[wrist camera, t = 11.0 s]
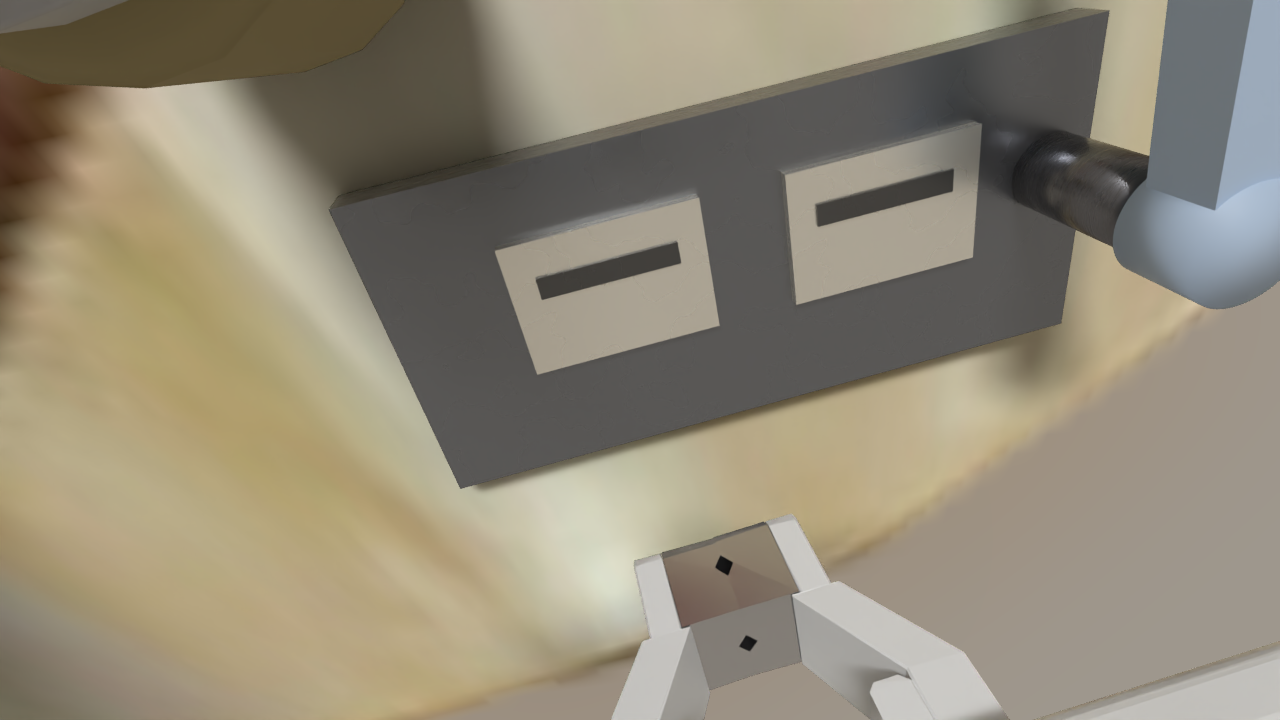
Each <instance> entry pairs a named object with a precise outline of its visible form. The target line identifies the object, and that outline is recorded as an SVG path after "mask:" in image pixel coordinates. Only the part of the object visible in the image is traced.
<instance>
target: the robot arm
mask: <svg viewBox="0 0 1280 720" xmlns="http://www.w3.org/2000/svg"><path fill="white" fill-rule="evenodd" d="M661 554H662V556H661ZM662 558H663V559H662ZM664 565H665V566H664ZM634 570H635V574H636V578H637V583H638V587H639V592H640V596H641V601H642V605H643V610H644V614H645V619H646V623H647V627H648V632H649V636H650V639H647V640H644V641H642V643H641V645H640V648H639V650H638V653H637V655H636V658H635V660H634V663H633V665H632V668H631V670H630V673H629V675H628V678H627V680H626V683H625V685H624V688H623V690H622V693H621V695H620V698H619V700H618V703H617V705H616V708H615V711H614V713H613V715H612V718H611V720H704V718H705V713H706V709H707V705H708V701H709V696H710V691H709V690H712V689H715V688H718V687H721V686H724V685H726V684H729V683H732V682H735V681H738V680H741V679H744V678H747V677H750V676H753V675H755V674H760V673H763V672H767V671H770V670H774V669H777V668H781V667H784V666H788V665H792V664H795V663H798V662H802V664H803V665H804V666H806V667H807V668H808V669H809V670H811V671H812V672H813V673H814V674H815V675H817V676H818V677H819V678H820V679H821V680H823V681H824V682H825V683H826V684H828V685H829V686H830V687H831V688H832V689H834V690H835V691H836V692H837V693H839V694H840V695H841V696H842V697H844V698H845V699H846V700H847V701H849V702H850V703H851V704H852V705H853V706H855V707H856V708H857V709H858V710H860V711H861V712H862V713H863V714H864V715H866V716H867V717H868V718H869V719H871V720H1010V719H1009V718H1008V716H1007V715H1006V713H1005V712H1004V711H1003V709H1002V707H1001V706H1000V704H999V703H998V702H997V700H996V699H995V697H994V696H993V694H992V693H991V691H990V690H989V688H988V687H987V685H986V684H985V682H984V681H983V679H982V678H981V676H980V675H979V674H978V672H977V671H976V669H975V668H974V666H973V665H972V663H971V662H970V660H969V659H968V657H967V656H966V654H965V653H964V652H963V651H961V650H959V649H958V648H956V647H954V646H952V645H951V644H949V643H947V642H945V641H944V640H942V639H940V638H938V637H937V636H935V635H933V634H932V633H930V632H928V631H926V630H925V629H923V628H921V627H919V626H918V625H916V624H914V623H912V622H911V621H909V620H907V619H905V618H904V617H902V616H900V615H898V614H897V613H895V612H893V611H891V610H890V609H888V608H886V607H884V606H883V605H881V604H879V603H877V602H876V601H874V600H872V599H870V598H869V597H867V596H865V595H864V594H861V593H860V592H858V591H857V590H854V589H853V588H851V587H850V586H848V585H846V584H844V583H843V582H840V581H836V582H832V583H831V581H830V580H829V578H828V576H827V574H826V572H825V570H824V569H823V567H822V565H821V563H820V561H819V559H818V558H817V556H816V554H815V552H814V550H813V548H812V546H811V545H810V543H809V541H808V539H807V537H806V535H805V534H804V532H803V530H802V528H801V526H800V524H799V523H798V521H797V519H796V517H795V516H794V515H792V514H788V515H785V516H782V517H779V518H775V519H772V520H769V521H766V522H765V523H764V522H761V523H758V524H755V525H752V526H749V527H745V528H742V529H739V530H736V531H733V532H730V533H726V534H723V535H720V536H717V537H714V538H713V539H710V540H706V541H702V542H699V543H695V544H691V545H688V546H684V547H681V548H677V549H673V550H670V551H666V552H662V553H660V554H656V555H653V556H649V557H646V558H642V559H639V560H635V561H634ZM1035 720H1280V641H1278V642H1275V643H1272V644H1269V645H1266V646H1262V647H1259V648H1256V649H1253V650H1250V651H1247V652H1244V653H1241V654H1238V655H1235V656H1232V657H1228V658H1225V659H1222V660H1219V661H1216V662H1212V663H1209V664H1206V665H1203V666H1200V667H1197V668H1194V669H1191V670H1188V671H1184V672H1182V673H1178V674H1175V675H1172V676H1169V677H1166V678H1162V679H1159V680H1156V681H1153V682H1150V683H1147V684H1144V685H1141V686H1137V687H1134V688H1132V689H1128V690H1125V691H1122V692H1119V693H1116V694H1112V695H1109V696H1106V697H1103V698H1100V699H1097V700H1094V701H1091V702H1088V703H1084V704H1081V705H1078V706H1075V707H1072V708H1069V709H1066V710H1063V711H1059V712H1056V713H1053V714H1050V715H1047V716H1044V717H1041V718H1038V719H1035Z"/></svg>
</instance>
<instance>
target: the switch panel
mask: <svg viewBox="0 0 1280 720" xmlns="http://www.w3.org/2000/svg"><path fill="white" fill-rule="evenodd" d="M1108 16H1109V11H1108V10H1095V9H1082V8H1075V9H1071V10H1067V11H1063V12H1059V13H1055V14H1051V15H1047V16H1043V17H1039V18H1035V19H1031V20H1027V21H1023V22H1019V23H1016V24H1012V25H1008V26H1004V27H1000V28H996V29H992V30H988V31H984V32H980V33H976V34H972V35H968V36H964V37H961V38H957V39H953V40H949V41H945V42H941V43H937V44H933V45H929V46H925V47H921V48H917V49H913V50H909V51H906V52H902V53H898V54H894V55H890V56H886V57H882V58H878V59H874V60H870V61H866V62H862V63H858V64H854V65H851V66H847V67H843V68H839V69H835V70H831V71H827V72H823V73H819V74H815V75H811V76H807V77H803V78H799V79H795V80H792V81H788V82H784V83H780V84H776V85H772V86H768V87H764V88H760V89H756V90H752V91H748V92H744V93H740V94H737V95H733V96H729V97H725V98H721V99H717V100H713V101H709V102H705V103H701V104H697V105H693V106H689V107H685V108H682V109H678V110H674V111H670V112H666V113H662V114H658V115H654V116H650V117H646V118H642V119H638V120H634V121H630V122H627V123H623V124H619V125H615V126H611V127H607V128H603V129H599V130H595V131H591V132H587V133H583V134H579V135H575V136H571V137H568V138H564V139H560V140H556V141H552V142H548V143H544V144H540V145H536V146H532V147H528V148H524V149H520V150H516V151H513V152H509V153H505V154H501V155H497V156H493V157H489V158H485V159H481V160H477V161H473V162H469V163H465V164H461V165H458V166H454V167H450V168H446V169H442V170H438V171H434V172H430V173H426V174H422V175H418V176H414V177H410V178H406V179H403V180H399V181H395V182H391V183H387V184H383V185H379V186H375V187H371V188H367V189H363V190H359V191H355V192H351V193H347V194H344V195H340V196H338V198H337V199H336V200H335V202H334V203H333V205H332V206H331V207H330V209H329V211H330V214H331V216H332V218H333V220H334V222H335V224H336V226H337V228H338V231H339V233H340V235H341V237H342V239H343V241H344V243H345V245H346V247H347V250H348V252H349V254H350V256H351V258H352V260H353V262H354V264H355V267H356V269H357V271H358V273H359V275H360V277H361V279H362V281H363V284H364V286H365V288H366V290H367V292H368V294H369V296H370V298H371V300H372V303H373V305H374V307H375V309H376V311H377V313H378V315H379V317H380V320H381V322H382V324H383V326H384V328H385V330H386V332H387V334H388V336H389V339H390V341H391V343H392V345H393V347H394V349H395V351H396V353H397V356H398V358H399V360H400V362H401V364H402V366H403V368H404V370H405V373H406V375H407V377H408V379H409V381H410V383H411V385H412V387H413V389H414V392H415V394H416V396H417V398H418V400H419V402H420V404H421V406H422V409H423V411H424V413H425V415H426V417H427V419H428V421H429V423H430V425H431V428H432V430H433V432H434V434H435V436H436V438H437V440H438V442H439V445H440V447H441V449H442V451H443V453H444V455H445V457H446V459H447V462H448V464H449V466H450V468H451V470H452V472H453V474H454V476H455V478H456V481H457V483H458V485H459V487H460V489H461V488H465V487H469V486H472V485H476V484H479V483H483V482H487V481H490V480H494V479H498V478H501V477H505V476H508V475H512V474H516V473H519V472H523V471H527V470H530V469H534V468H538V467H541V466H545V465H548V464H552V463H556V462H559V461H563V460H567V459H570V458H574V457H577V456H581V455H585V454H588V453H592V452H596V451H599V450H603V449H606V448H610V447H614V446H617V445H621V444H625V443H628V442H632V441H636V440H639V439H643V438H646V437H650V436H654V435H657V434H661V433H665V432H668V431H672V430H675V429H679V428H683V427H686V426H690V425H694V424H697V423H701V422H705V421H708V420H712V419H715V418H719V417H723V416H726V415H730V414H734V413H737V412H741V411H744V410H748V409H752V408H755V407H759V406H763V405H766V404H770V403H774V402H777V401H781V400H784V399H788V398H792V397H795V396H799V395H803V394H806V393H810V392H813V391H817V390H821V389H824V388H828V387H832V386H835V385H839V384H843V383H846V382H850V381H853V380H857V379H861V378H864V377H868V376H872V375H875V374H879V373H882V372H886V371H890V370H893V369H897V368H901V367H904V366H908V365H912V364H915V363H919V362H922V361H926V360H930V359H933V358H937V357H941V356H944V355H948V354H951V353H955V352H959V351H962V350H966V349H970V348H973V347H977V346H981V345H984V344H988V343H991V342H995V341H999V340H1002V339H1006V338H1010V337H1013V336H1017V335H1020V334H1024V333H1028V332H1031V331H1035V330H1039V329H1042V328H1046V327H1049V326H1053V325H1057V324H1060V323H1061V320H1062V314H1063V307H1064V301H1065V294H1066V288H1067V281H1068V275H1069V269H1070V262H1071V256H1072V249H1073V243H1074V236H1075V230H1077V231H1080V232H1082V233H1084V234H1086V235H1088V236H1090V237H1092V238H1095V239H1097V240H1099V241H1101V242H1103V243H1105V244H1108V245H1110V246H1112V247H1113V234H1114V229H1115V225H1116V222H1117V219H1118V217H1119V214H1120V213H1121V211H1122V209H1123V207H1124V205H1125V204H1126V202H1127V200H1128V199H1129V198H1130V196H1131V195H1132V194H1133V192H1134V191H1135V190H1136V189H1137V188H1138V187H1139V186H1140V184H1142V183H1143V182H1144V181H1145V180H1146V179H1147V173H1148V164H1149V156H1147V155H1144V154H1140V153H1137V152H1134V151H1130V150H1127V149H1124V148H1120V147H1117V146H1113V145H1110V144H1107V143H1103V142H1100V141H1097V140H1093V139H1090V133H1091V126H1092V120H1093V113H1094V107H1095V100H1096V94H1097V88H1098V81H1099V75H1100V68H1101V62H1102V55H1103V49H1104V42H1105V36H1106V29H1107V23H1108Z"/></svg>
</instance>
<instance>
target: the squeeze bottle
mask: <svg viewBox="0 0 1280 720" xmlns="http://www.w3.org/2000/svg"><path fill="white" fill-rule="evenodd" d="M404 2H405V0H0V66H1V67H4V68H7V69H9V70H12V71H14V72H17V73H20V74H22V75H25V76H27V77H30V78H33V79H35V80H38V81H40V82H43V83H49V84H69V85H89V86H109V87H129V88H152V87H162V86H172V85H182V84H192V83H201V82H211V81H221V80H231V79H240V78H250V77H260V76H270V75H279V74H289V73H299V72H306V71H308V70H311V69H313V68H316V67H319V66H321V65H324V64H326V63H329V62H332V61H334V60H337V59H339V58H342V57H345V56H347V55H350V54H352V53H355V52H358V51H360V50H363V48H364V47H365V46H366V45H367V44H368V43H369V42H370V41H371V40H372V38H373V37H374V36H375V35H376V34H377V33H378V32H379V31H380V30H381V29H382V27H383V26H384V25H385V24H386V23H387V22H388V21H389V20H390V19H391V17H392V16H393V15H394V14H395V13H396V12H397V11H398V10H399V9H400V8H401V6H402V5H403V4H404Z"/></svg>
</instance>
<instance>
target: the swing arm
mask: <svg viewBox="0 0 1280 720" xmlns="http://www.w3.org/2000/svg"><path fill="white" fill-rule="evenodd" d="M1113 250H1114V253H1115V256H1116V258H1117V260H1118V262H1119V263H1120V264H1121V265H1122V266H1123V267H1125V268H1126V269H1128V270H1130V271H1132V272H1134V273H1136V274H1138V275H1140V276H1142V277H1144V278H1146V279H1148V280H1150V281H1153V282H1155V283H1157V284H1159V285H1161V286H1163V287H1165V288H1167V289H1169V290H1171V291H1173V292H1175V293H1177V294H1179V295H1181V296H1183V297H1185V298H1187V299H1189V300H1191V301H1193V302H1195V303H1197V304H1200V305H1202V306H1204V307H1206V308H1210V309H1226V308H1231V307H1235V306H1238V305H1241V304H1244V303H1246V302H1248V301H1250V300H1252V299H1254V298H1256V297H1258V296H1259V295H1261V294H1263V293H1264V292H1266V291H1267V290H1268V289H1270V288H1271V287H1272V286H1274V285H1275V284H1276V283H1277V282H1278V281H1280V0H1168V4H1167V13H1166V21H1165V29H1164V38H1163V46H1162V55H1161V63H1160V71H1159V80H1158V88H1157V97H1156V105H1155V114H1154V122H1153V130H1152V139H1151V147H1150V156H1149V164H1148V173H1147V179H1146V180H1145V181H1144V182H1143V183H1142V184H1140V186H1139V187H1138V188H1137V189H1136V190H1135V191H1134V192H1133V194H1132V195H1131V196H1130V198H1129V199H1128V200H1127V202H1126V204H1125V205H1124V207H1123V209H1122V211H1121V213H1120V214H1119V217H1118V219H1117V222H1116V225H1115V229H1114V234H1113Z"/></svg>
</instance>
